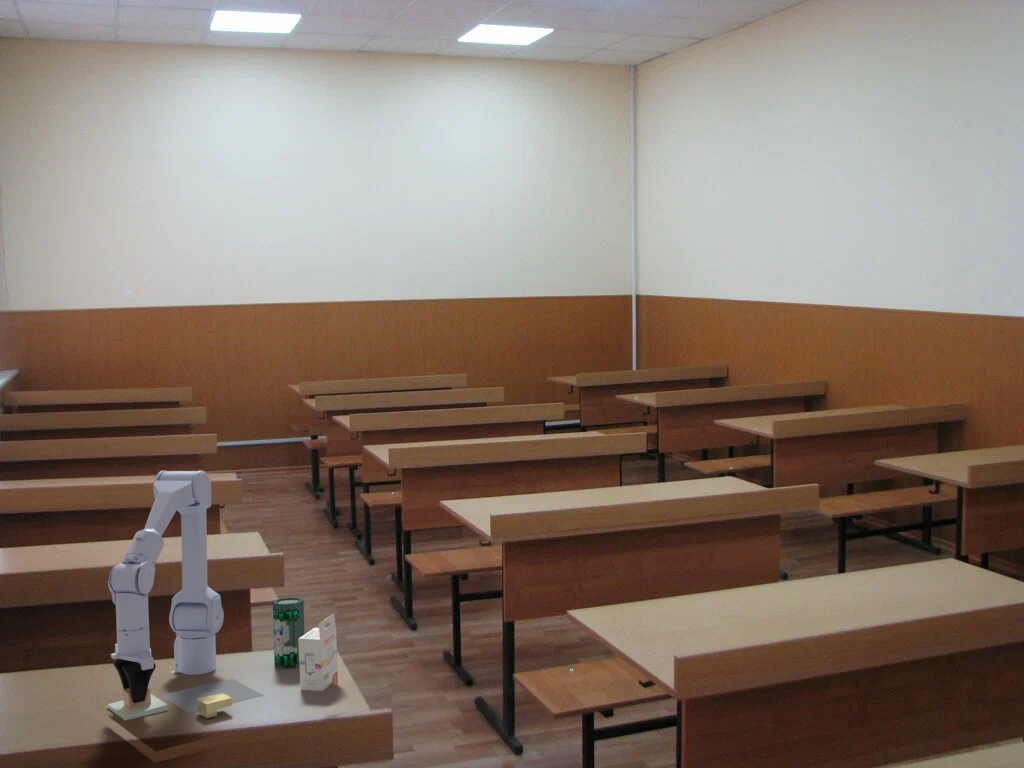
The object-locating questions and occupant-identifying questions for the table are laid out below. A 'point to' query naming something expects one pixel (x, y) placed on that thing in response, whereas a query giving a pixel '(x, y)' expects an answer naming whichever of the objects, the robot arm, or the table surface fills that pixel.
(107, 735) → the table surface
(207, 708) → the yellow stepped block
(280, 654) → the can
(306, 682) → the ink cartridge box
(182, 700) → the flat gray mat
